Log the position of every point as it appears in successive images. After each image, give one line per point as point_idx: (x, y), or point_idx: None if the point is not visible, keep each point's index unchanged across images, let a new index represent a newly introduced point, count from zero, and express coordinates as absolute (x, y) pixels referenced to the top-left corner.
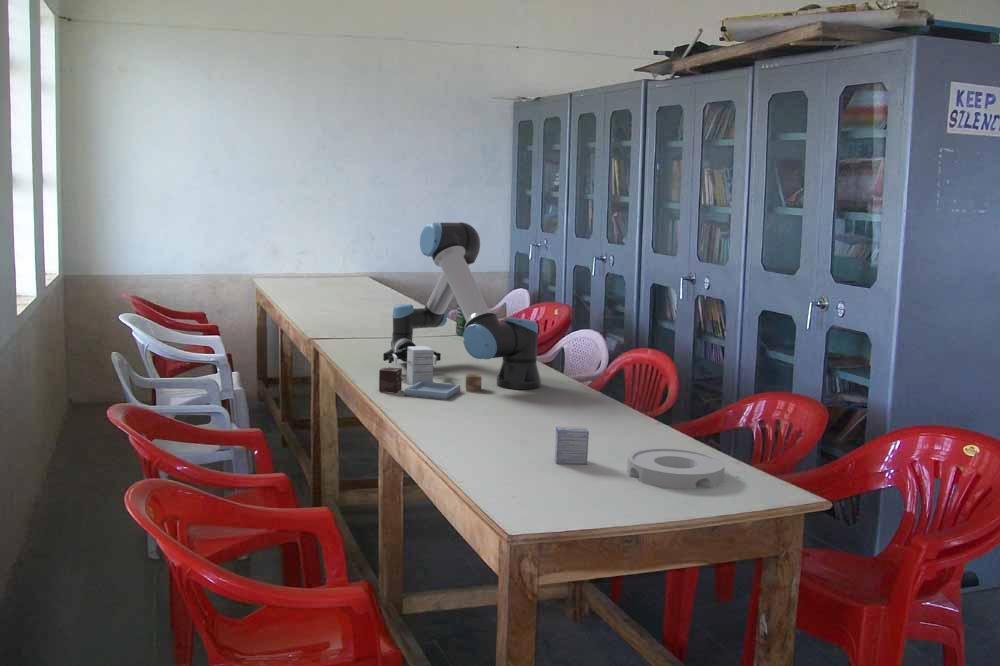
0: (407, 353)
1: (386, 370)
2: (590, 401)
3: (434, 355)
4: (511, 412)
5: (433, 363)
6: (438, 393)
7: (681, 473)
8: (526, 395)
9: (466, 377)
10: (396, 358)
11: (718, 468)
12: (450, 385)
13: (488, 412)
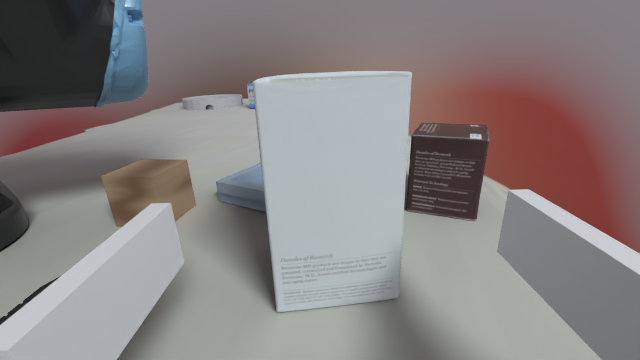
0: (407, 123)
1: (458, 124)
2: (10, 166)
3: (108, 242)
4: (219, 140)
5: (168, 279)
6: None
7: (228, 94)
8: (76, 184)
9: (187, 163)
10: (513, 201)
11: (201, 96)
12: (244, 184)
13: (253, 140)
